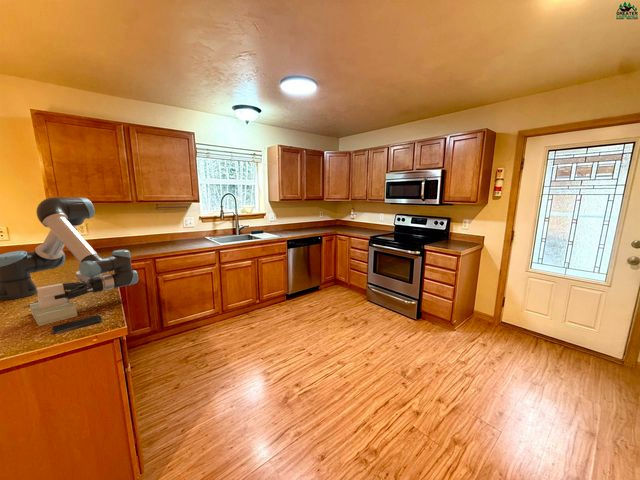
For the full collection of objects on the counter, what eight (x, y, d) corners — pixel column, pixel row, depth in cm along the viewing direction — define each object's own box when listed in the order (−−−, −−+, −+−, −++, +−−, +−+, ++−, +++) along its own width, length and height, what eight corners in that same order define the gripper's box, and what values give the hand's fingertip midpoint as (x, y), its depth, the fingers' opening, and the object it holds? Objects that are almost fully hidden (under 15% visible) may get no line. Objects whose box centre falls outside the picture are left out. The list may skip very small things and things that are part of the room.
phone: (102, 320, 112) (52, 333, 101) (102, 322, 112) (53, 335, 101) (99, 314, 117) (52, 326, 106) (99, 317, 117) (52, 328, 106)
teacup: (75, 287, 153) (73, 274, 152) (79, 282, 163) (77, 269, 162) (107, 283, 162) (106, 270, 160) (109, 278, 172) (108, 266, 170)
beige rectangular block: (40, 313, 116) (36, 287, 114) (64, 307, 122) (61, 283, 120) (41, 315, 114) (37, 289, 112) (66, 309, 120) (63, 284, 118)
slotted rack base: (31, 313, 119) (29, 304, 118) (67, 305, 129) (65, 296, 128) (38, 326, 107) (37, 316, 107) (77, 315, 117) (76, 306, 116)
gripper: (110, 296, 124) (47, 311, 107) (94, 285, 139) (36, 297, 122) (108, 281, 123) (44, 294, 106) (93, 272, 137) (34, 282, 120)
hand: (40, 295), depth 114 cm, fingers open, 13 cm apart
